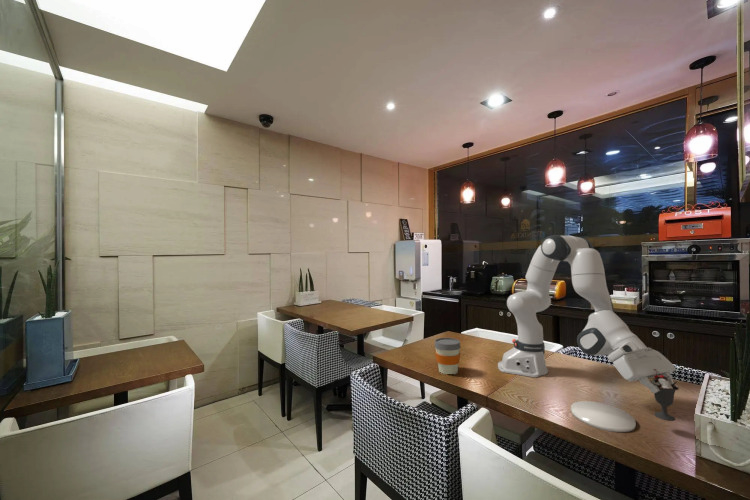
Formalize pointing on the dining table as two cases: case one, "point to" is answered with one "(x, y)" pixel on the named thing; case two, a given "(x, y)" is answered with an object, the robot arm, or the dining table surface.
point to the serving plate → (603, 416)
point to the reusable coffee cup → (447, 355)
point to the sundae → (664, 395)
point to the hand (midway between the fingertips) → (665, 390)
